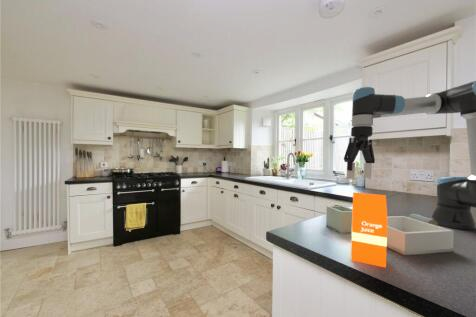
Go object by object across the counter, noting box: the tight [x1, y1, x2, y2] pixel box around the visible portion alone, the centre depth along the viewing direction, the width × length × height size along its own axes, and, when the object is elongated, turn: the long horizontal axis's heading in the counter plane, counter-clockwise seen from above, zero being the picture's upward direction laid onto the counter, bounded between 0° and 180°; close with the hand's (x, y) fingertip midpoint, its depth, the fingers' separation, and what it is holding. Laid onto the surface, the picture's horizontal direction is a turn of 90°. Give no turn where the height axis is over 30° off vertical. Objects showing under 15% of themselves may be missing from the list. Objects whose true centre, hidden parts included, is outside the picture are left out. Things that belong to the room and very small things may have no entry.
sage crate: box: [325, 205, 353, 235], centre depth 93 cm, size 8×10×9 cm
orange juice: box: [350, 192, 388, 268], centre depth 66 cm, size 8×9×20 cm
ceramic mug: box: [407, 213, 439, 226], centre depth 90 cm, size 11×8×8 cm
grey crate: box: [387, 215, 455, 256], centre depth 80 cm, size 20×18×7 cm
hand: (359, 178), depth 88 cm, fingers open, 13 cm apart
